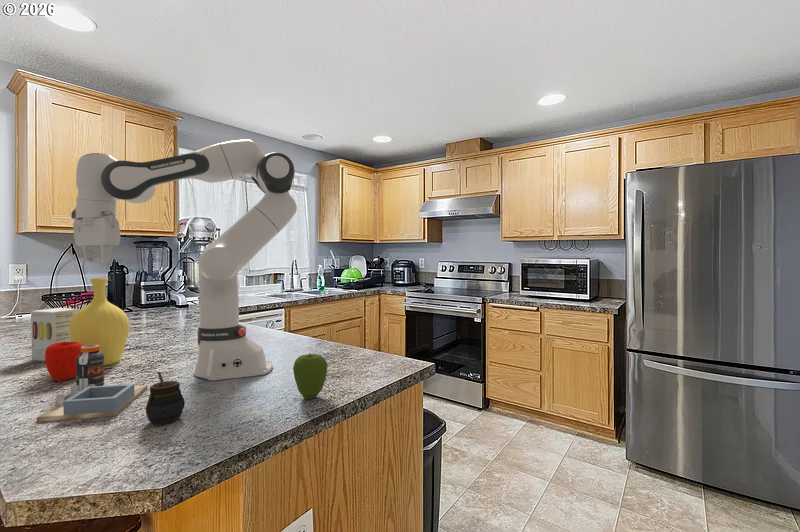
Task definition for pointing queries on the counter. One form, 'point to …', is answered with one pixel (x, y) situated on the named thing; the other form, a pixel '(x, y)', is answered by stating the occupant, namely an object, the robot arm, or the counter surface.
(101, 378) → the pill bottle
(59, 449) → the counter surface
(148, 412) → the mate gourd
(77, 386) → the clips
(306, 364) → the apple
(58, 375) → the apple
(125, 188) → the robot arm
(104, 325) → the vase
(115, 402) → the end holder
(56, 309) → the supplement box
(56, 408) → the board
